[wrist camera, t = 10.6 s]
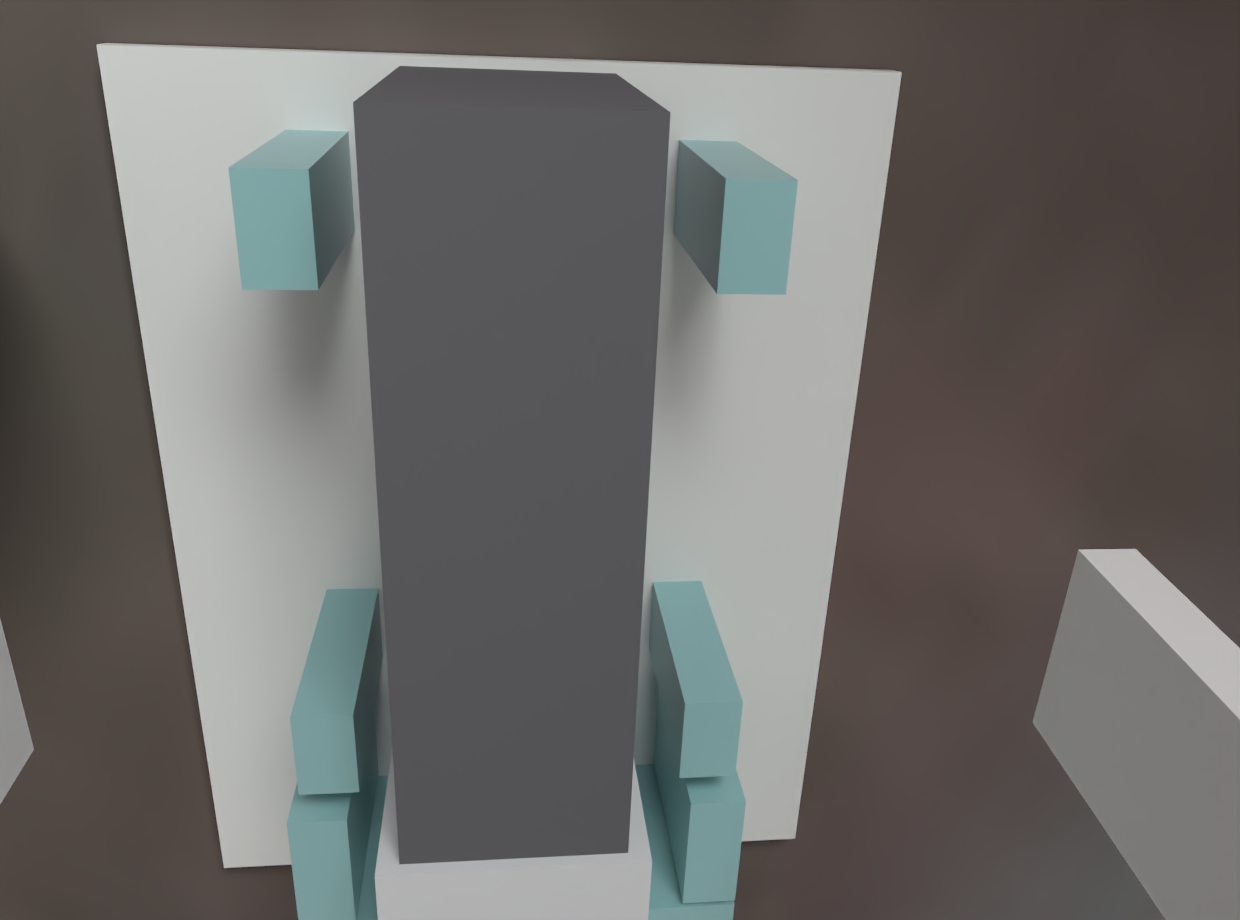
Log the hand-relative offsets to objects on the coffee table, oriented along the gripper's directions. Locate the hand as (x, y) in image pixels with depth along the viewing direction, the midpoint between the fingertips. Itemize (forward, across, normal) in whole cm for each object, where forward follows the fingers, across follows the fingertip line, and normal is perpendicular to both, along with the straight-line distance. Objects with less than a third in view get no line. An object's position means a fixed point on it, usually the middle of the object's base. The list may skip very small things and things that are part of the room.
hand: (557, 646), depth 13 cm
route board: (+8, 0, -2) cm, 8 cm away
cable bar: (+7, -1, -1) cm, 7 cm away
